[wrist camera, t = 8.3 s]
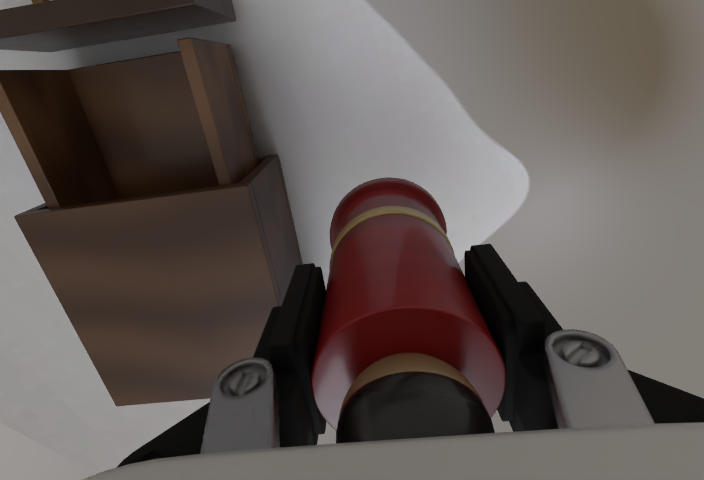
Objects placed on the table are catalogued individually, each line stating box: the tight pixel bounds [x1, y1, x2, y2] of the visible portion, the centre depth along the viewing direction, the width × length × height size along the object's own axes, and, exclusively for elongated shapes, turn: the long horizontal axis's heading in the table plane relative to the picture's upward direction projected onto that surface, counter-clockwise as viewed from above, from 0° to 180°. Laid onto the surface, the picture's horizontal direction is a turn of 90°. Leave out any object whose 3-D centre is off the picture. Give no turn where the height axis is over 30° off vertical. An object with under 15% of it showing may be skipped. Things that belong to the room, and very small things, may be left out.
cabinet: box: [14, 154, 302, 406], centre depth 29 cm, size 16×14×9 cm
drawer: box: [0, 0, 259, 209], centre depth 24 cm, size 19×13×7 cm
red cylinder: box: [311, 178, 506, 444], centre depth 11 cm, size 5×5×12 cm
